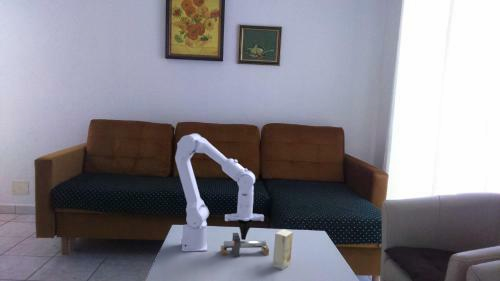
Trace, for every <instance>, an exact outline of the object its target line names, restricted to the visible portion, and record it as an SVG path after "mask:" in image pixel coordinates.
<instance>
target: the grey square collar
mask: <svg viewBox="0 0 500 281" xmlns="http://www.w3.org/2000/svg"><path fill="white" fill-rule="evenodd" d="M231 241H234V248H231V252H232V254H233V257H234V258H235V257H236V258H238V257H240V252H241V248H240V241H241V236H240V234H239V232H232V240H231Z"/></svg>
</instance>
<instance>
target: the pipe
mask: <svg viewBox="0 0 500 281" xmlns="http://www.w3.org/2000/svg"><path fill="white" fill-rule="evenodd" d="M232 248H234V241H232V240H224V241H223V245H220V254H221V257H227V256H228V249H232ZM248 248H249V249H253V248H254V249H255V248H256V249H257V248H261V252H262V255H263V256H269V255H270V254H269V253H270V249H269V246H268V245H267V241H266V240H240V249H248Z"/></svg>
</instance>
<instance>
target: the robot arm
mask: <svg viewBox="0 0 500 281" xmlns="http://www.w3.org/2000/svg"><path fill="white" fill-rule="evenodd" d="M176 144H177V149H176V152H175V156H174V159H175V160H174V161H175V163H176V168H177V171H178V174H179V180H180V183H181V185H182V189H183V193H184V197H185V200H186V208H185V212H186V218H185V219H186V220H185V221H186V223H187V224H182V238H181V242H180V243H181V252H207V251H208V244H207V232H208V230H207V228H208V223H207V219H208V218H209V215H210V211H209V209H208V206H206V204H205V202H204V200H203V199H202V198H201V196H200V195H201V194H200V192H199V191H200V190H199V189H198V184H197V180H196V177H195V174H194V170H193V167H192V162H191V159H192V157H193V156H194V154H195V153H197V154H205V155H207V156H208V157H209V158H210V159H212V160H213V161H215V162H216V163H218V164H219V165H220V166H221V169H222V172H224V173H225V174H226V175H227V176H229V177H230V178H231V179H232V180H233V181H235V182H237V186H238V193H237V207H236V208H237V210H236V213H231V214H230V213H229V214H228V213H227V214H224V221H225V222H229V221H233V222H234V221H236V223H237V225H238V227H239V231H240V240H241V241H246V238H247V236H248V232H249V230H250V229H251V227H252V225H253V221H261V222H264V220H265V216H264V214H262V213H261V214H259V213H253V206H254V194H255V193H254V190H255V188H254V187H255V186H254V184H255V183H256V175H255V174H254V173H253V171H251V170H248V168H247V167H246V168H244V167H243V166H242V165H241V164H239V163H238V162H239V161H238V159H233V158H227V157H226V156H225V155H224V154H223V153H221V152H220V151H219V150H218V149H217V148H216V147H215V146H213V145H212V144H211V142H209V141H208V140H207V139H206V138H205V137H202V136H201V135H200V134H199V133H196V132H195V133H190V134H188V135H184V136H182V137H181V138H180V140H179V141H178V142H177V143H176Z"/></svg>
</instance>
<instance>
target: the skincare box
mask: <svg viewBox="0 0 500 281" xmlns="http://www.w3.org/2000/svg"><path fill="white" fill-rule="evenodd" d="M293 235H294V231H291V230H288V229H285V228H284V229H281V230H278V231H277V232H276V233H275V234H274V247H273V256H272V257H273V259H272V267H274V268H277V269H280V270H284V269H286V268H287V267H288V266H290V265H291V258H292V247H293V238H294V237H293Z"/></svg>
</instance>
